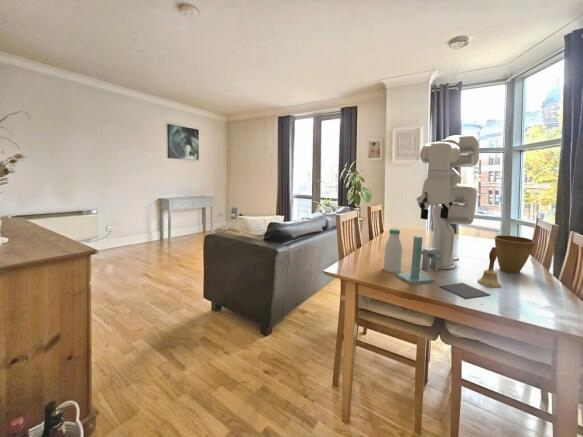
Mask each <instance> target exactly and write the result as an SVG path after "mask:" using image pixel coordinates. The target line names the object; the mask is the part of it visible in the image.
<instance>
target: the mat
mask: <svg viewBox="0 0 583 437" xmlns="http://www.w3.org/2000/svg"><path fill="white" fill-rule="evenodd" d="M439 287H440V288H442V289H444V290H447V291H448V292H450V293H453V294H454V295H456V296H459V297H461V298H463V299H464V300H465V299H466V300H467V299H475V298H481V297H488V296H491V294H490V293H488V292H486V291H484V290H481V289H478V288H477V287H474V286H471V285H469V284H467V283H464V282H458V283H449V284H442V285H439Z"/></svg>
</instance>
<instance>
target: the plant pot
mask: <svg viewBox="0 0 583 437" xmlns="http://www.w3.org/2000/svg"><path fill="white" fill-rule="evenodd" d="M535 241H536V240H533V239H531V238H527V237H524V236H516V235H515V236H514V235H508V234H507V235H504V234H503V235H495V236H494V244H495V245H494V247H496V251H497V257H496V260H497V262H498V266H499V268H500V270H501V271H503V272H506V273H510V274H511V273H512V274H519V273H520V272H521V271H522V269H523V268H524V266H525V265H526V263H527V262H528V259H529V257H530V255H531V253H532V251H533V247H534V245H535Z"/></svg>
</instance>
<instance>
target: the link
mask: <svg viewBox="0 0 583 437" xmlns="http://www.w3.org/2000/svg"><path fill="white" fill-rule="evenodd" d="M422 250H423V255H422V258H421V259H422V260H421V261H422V262H421V271H423V272H426V273H427V272H430V270H432V271H434V272H436V271H437V272H438V271H439V268H438V266H439V260H436V259H433V258H430V256H431V255H438V256H440V249H437V248H432V247H430V248H428V247H426V248H423V249H422ZM430 260H431V266H430Z"/></svg>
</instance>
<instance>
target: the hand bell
mask: <svg viewBox="0 0 583 437" xmlns="http://www.w3.org/2000/svg"><path fill="white" fill-rule="evenodd" d="M488 254H489V256H488V257H489V264H488V269H485V270H484V271H483V274H482V276H481V277H480V278H479V279H478V280H477V283H478V284H480V285H482V286H485V287H490V288H502V284H501V282H499V280H498V279H499V278H498V273H497V271H495V270H494V267H495V262H496V260H497V251H496V247H495V246H492V248H491V249H490V251H489V253H488Z"/></svg>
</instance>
